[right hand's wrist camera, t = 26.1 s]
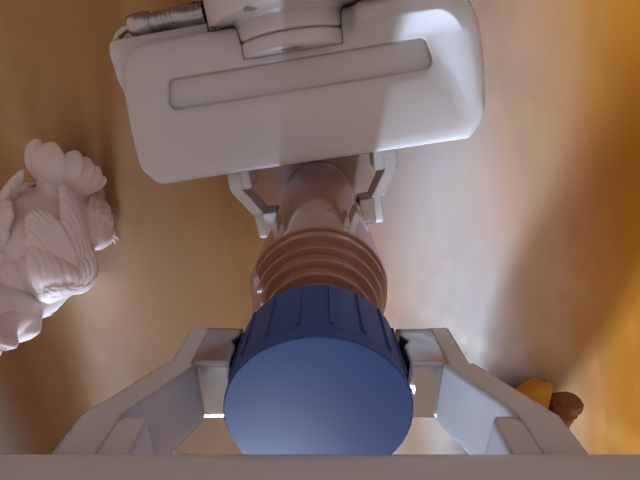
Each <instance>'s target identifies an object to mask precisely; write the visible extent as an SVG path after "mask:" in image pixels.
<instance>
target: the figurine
mask: <svg viewBox="0 0 640 480" xmlns="http://www.w3.org/2000/svg"><path fill="white" fill-rule="evenodd" d="M24 163H25V166H26V168H27V170H28V172H29V173H30V175H31V176H32V177H33V178H34V179H35V180H36V181H35V182H33V181H30V182H24V183H23V179H24V170H23V169H21V170H19V171H18V172H17V173H15V174H14V175H13V176H12V177H11V178H10V179H9V180H8V182H7V183H6V185H5V186H4V187H3V188H2V190H1V191H0V355H1V354H2V351H7V350H10V349H15V348H17V346H18V344H19V343H20V342H24V341H27V340H30V339H32V338H34V337H35V336H36V335H38V334H39V333H40V331H41V329H42V319H43V318H45V317H48V316H51V315H52V314H53V313H54V312H55V311H57V310H58V308H59V307H60V306H61V305H62V304H63V303H64V302H65V301H66V300H67V299H68V298H69V297H70V296H72V295H75V294H83V293H85V292H87V291H88V290H89V289H90V288H91V287H92V286H93V285H94V284H95V283H96V279H97V276H98V261H97V251H96V250H101V249H104V248H105V247H107V246H108V245H109V244H110V245H111V243H112V241H113V242H114V244H116V243H115V242H116V240H115V238H116V239H117V240H118V239H119V237H118V236H117V235H116V233H115V231H114V229H113V225H114V221H113V219H114V216H113V213H111V207H110V205H109V204H108V203H107V202H106V201H105V200H103V199H102V198H99V197H97V196H96V195H95V194H94V193H95V192H97V191H99V190H100V189H102V188H103V187H104V186H105V184H106V182H107V179H106V177H105V176H103V175H102V171H101V169H100V167H99V166H97V165H94V163H93V161H92V160H91V159H90V158H89V157H85V156H82V154H81V153H80V152H79V151H77V150H73V151H68V152H66V153H64V152H63V151H62V149H61V147H60V146H59V145H58V144H57V143H56V142H53V141H51V142H47V143H43V142H42V141H41V140H40V139H38V138H36V139H33V140H31V141H30V142H29V143H28V144H27V146H26V148H25V152H24Z"/></svg>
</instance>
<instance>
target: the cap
mask: <svg viewBox="0 0 640 480" xmlns="http://www.w3.org/2000/svg"><path fill="white" fill-rule="evenodd" d="M406 374H408V372H407V369H406V366H405V363H404V360H403V357H402V354H401V351H400V348H399V345H398V341H397V338H396V335H395V332H394V329H393V328H391V327H390V325H389V323H388V321H387V320H386V318H385V317H384V315H383V314H382V312H381V309H380V308H377V307H376V306H375V305H374V304H372V303H371V302H370V301H369V300H367V299H366V298H364V297H362V296H361V295H359V293H354V292H352V291H350V290H347V289H344V288H341V287H336V286H332V285H306V286H299V287H297V288H293V289H290V290H287V291H285V292H283V293H280V294H278V295H277V296H276V295H274V296H273V298H272V299H270V300H269V301H267V302H266V303H265V304H264V305H262V306H261V307H260V309H259V310H258V311H257V312H254V313H253V315H252V318H251V320H250V322H249V324H248V326H247V328H246V331H245V333H242V336H241V339H240V342H239V345H238V348H237V351H236V354H235V357H234V359H233V362H232V365H231V368H230V371H229V374H228V377H227V379H229V382H228V385H227V389H226V392H225V395H224V402H223V414H224V419H225V424H226V427H227V429H228V432H229V434H230V436H231V437H232V439H233V441H234V442H235V443H236V445H237V446H238V447H239V449H240V450H241V451H242V452H243V453H244V454H246V455H247V454H296V455H391V454H392V453H393V452H395V451H396V450H397V448H398V447H399V446H400V445H401V443H402V442H403V440H404V439H405V437H406V435H407V433H408V431H409V428H410V426H411V422H412V418H413V407H414V405H413V397H412V393H411V390H410V387H409V383H408V380H407V377H406Z"/></svg>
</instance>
